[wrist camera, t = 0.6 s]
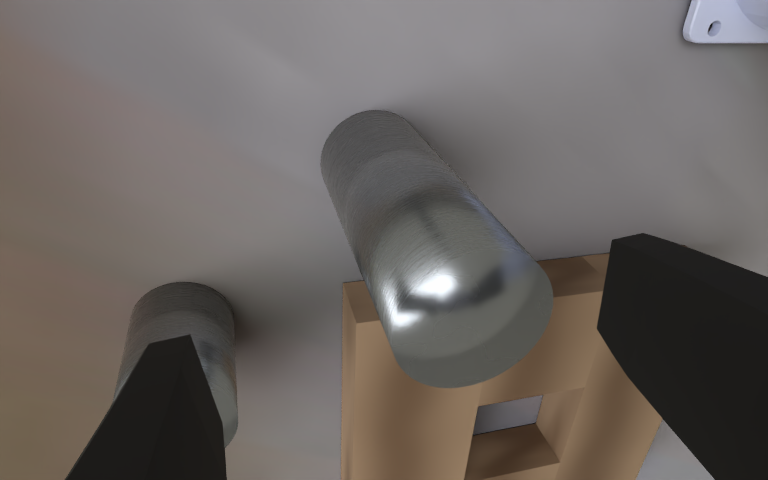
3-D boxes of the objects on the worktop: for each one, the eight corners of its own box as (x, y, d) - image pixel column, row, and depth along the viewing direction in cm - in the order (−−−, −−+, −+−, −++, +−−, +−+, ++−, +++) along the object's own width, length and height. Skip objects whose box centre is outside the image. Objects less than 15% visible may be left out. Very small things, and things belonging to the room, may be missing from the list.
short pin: (229, 277, 20) (231, 374, 15) (238, 351, 21) (242, 456, 17) (121, 288, 19) (94, 394, 15) (140, 365, 20) (120, 479, 16)
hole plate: (684, 244, 25) (726, 274, 23) (598, 469, 33) (623, 506, 31) (342, 283, 21) (356, 323, 19) (340, 526, 29) (349, 573, 27)
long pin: (425, 108, 18) (570, 242, 11) (417, 203, 20) (535, 374, 13) (319, 112, 17) (396, 260, 10) (321, 211, 19) (387, 399, 12)
